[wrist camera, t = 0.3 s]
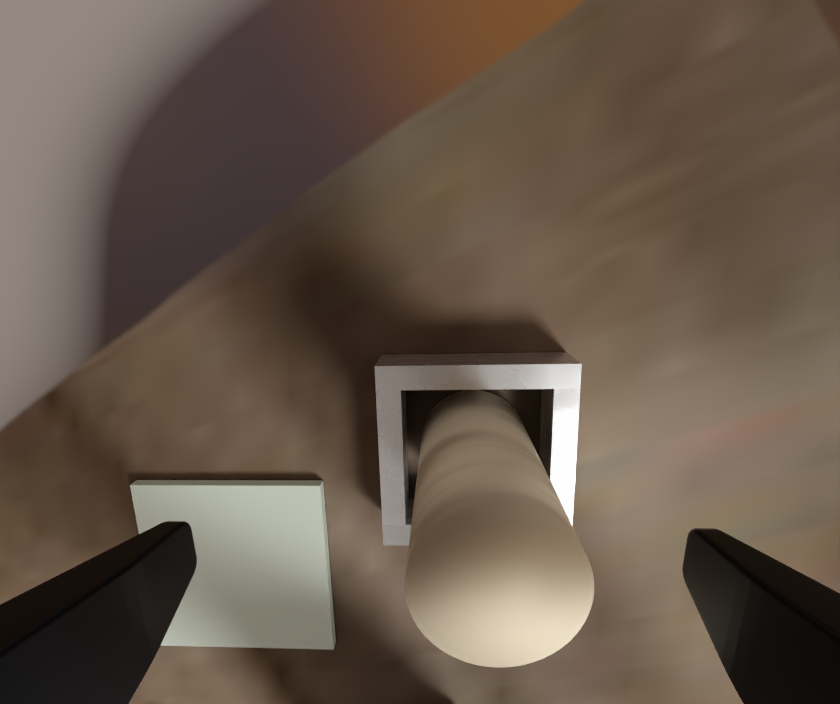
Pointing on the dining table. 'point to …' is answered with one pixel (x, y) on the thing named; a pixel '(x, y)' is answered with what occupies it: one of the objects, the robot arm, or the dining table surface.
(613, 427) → the dining table surface
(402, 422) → the grey square frame
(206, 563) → the sage board
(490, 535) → the maple peg
